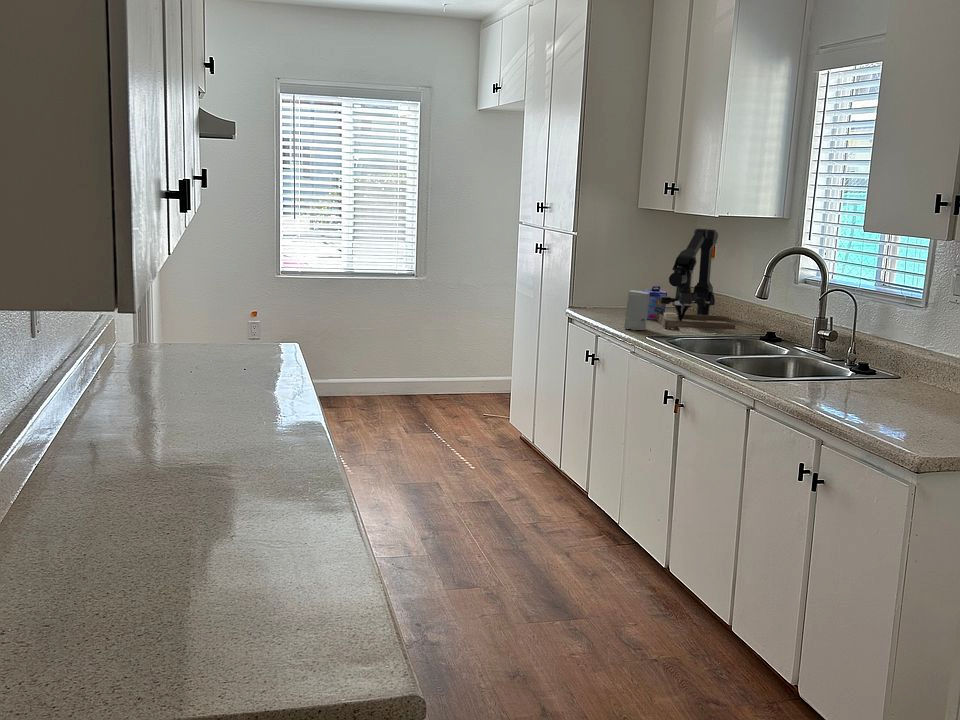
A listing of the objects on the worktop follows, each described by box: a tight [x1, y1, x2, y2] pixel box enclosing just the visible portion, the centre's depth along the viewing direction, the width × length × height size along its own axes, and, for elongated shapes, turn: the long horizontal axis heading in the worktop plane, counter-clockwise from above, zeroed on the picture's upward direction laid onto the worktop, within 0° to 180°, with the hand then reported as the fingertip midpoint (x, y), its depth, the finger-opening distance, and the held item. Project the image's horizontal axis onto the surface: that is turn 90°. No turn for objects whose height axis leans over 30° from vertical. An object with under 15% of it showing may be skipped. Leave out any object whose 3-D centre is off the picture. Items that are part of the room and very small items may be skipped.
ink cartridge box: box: [642, 285, 668, 320], centre depth 410 cm, size 10×6×14 cm, turn 101°
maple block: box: [664, 311, 678, 321], centre depth 396 cm, size 5×5×4 cm
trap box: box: [656, 313, 736, 330], centre depth 397 cm, size 18×29×4 cm, turn 90°
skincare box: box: [623, 289, 650, 331], centre depth 383 cm, size 8×7×16 cm
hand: (680, 320), depth 397 cm, fingers closed
